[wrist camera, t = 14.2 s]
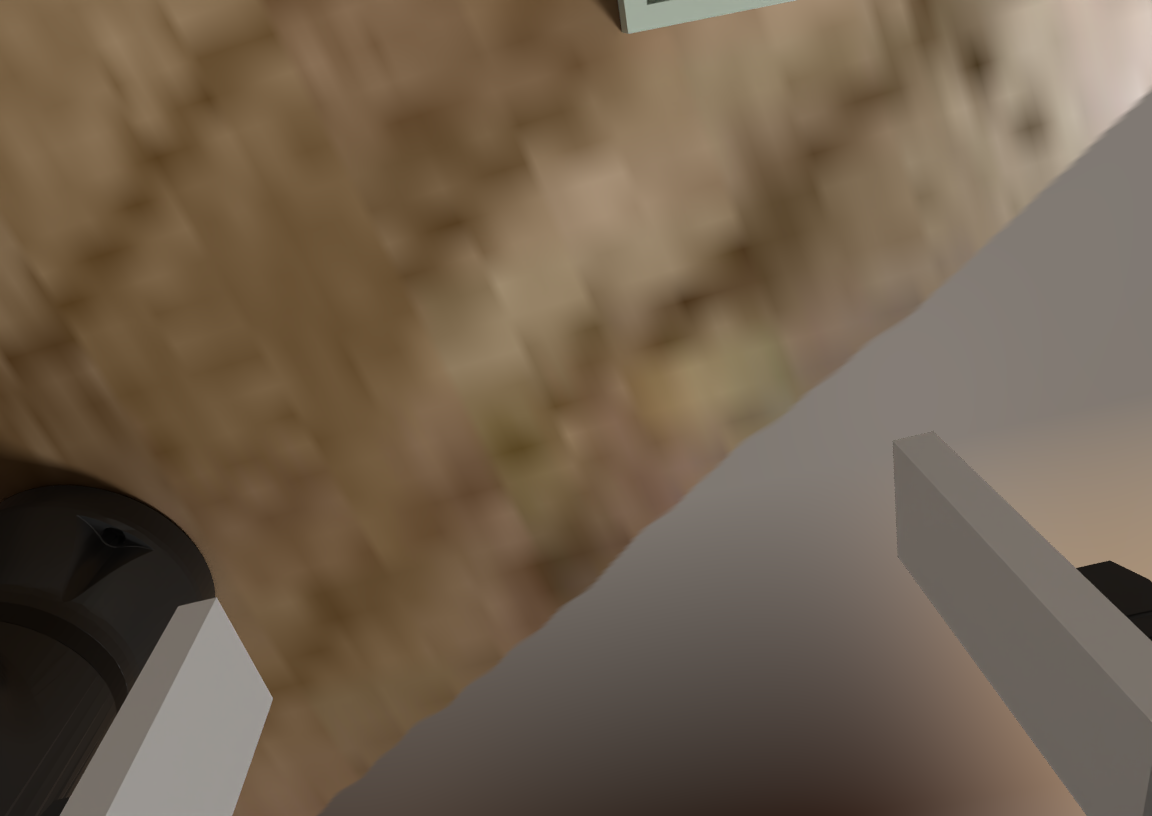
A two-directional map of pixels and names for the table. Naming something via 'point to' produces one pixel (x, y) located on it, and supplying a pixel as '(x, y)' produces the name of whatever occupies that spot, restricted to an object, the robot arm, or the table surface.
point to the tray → (679, 11)
